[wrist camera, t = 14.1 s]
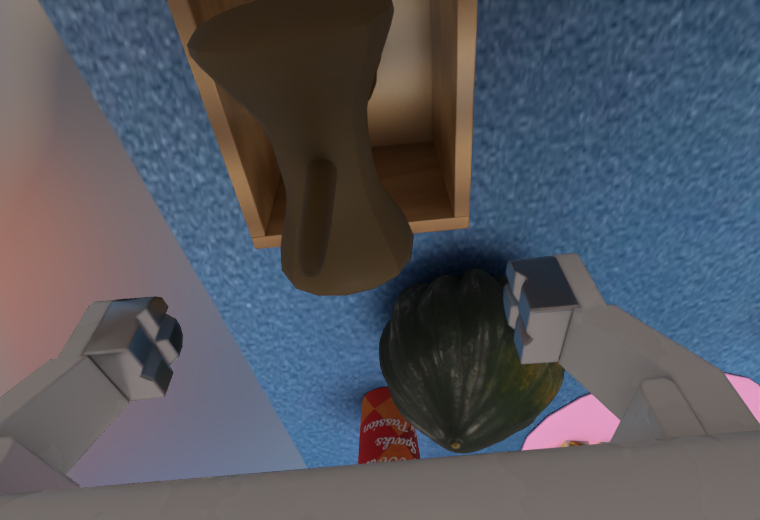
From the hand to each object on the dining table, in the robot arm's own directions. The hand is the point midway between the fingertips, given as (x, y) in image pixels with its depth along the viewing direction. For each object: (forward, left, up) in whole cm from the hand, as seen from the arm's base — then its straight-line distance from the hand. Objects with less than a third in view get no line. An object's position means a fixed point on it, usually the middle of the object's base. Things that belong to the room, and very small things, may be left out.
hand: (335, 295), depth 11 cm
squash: (+24, +7, -22) cm, 33 cm away
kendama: (0, -1, -21) cm, 21 cm away
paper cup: (+39, -1, -22) cm, 44 cm away
